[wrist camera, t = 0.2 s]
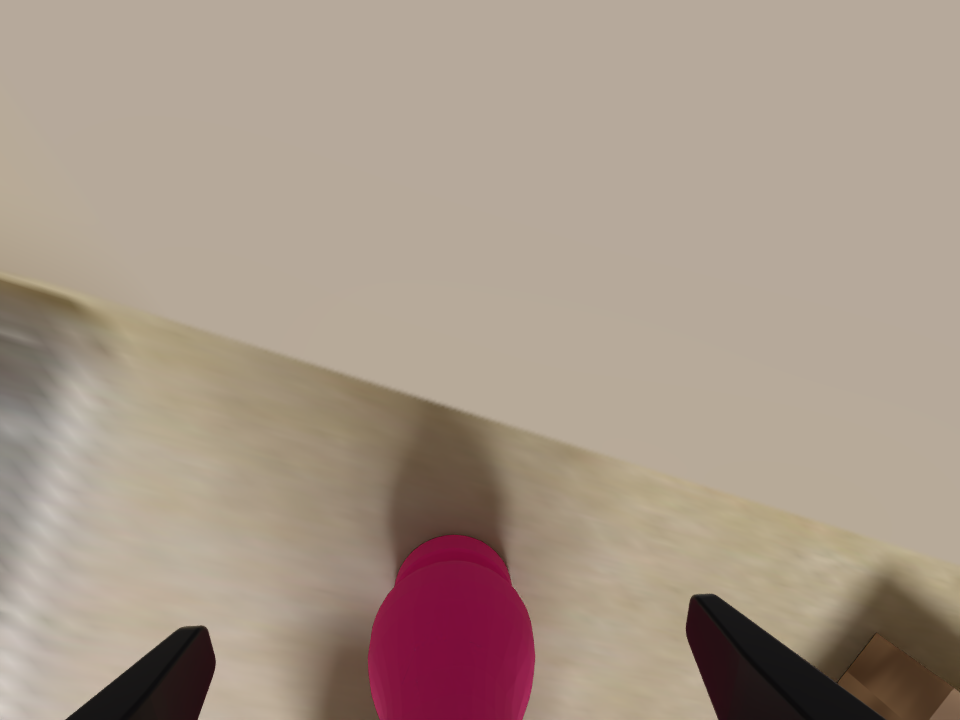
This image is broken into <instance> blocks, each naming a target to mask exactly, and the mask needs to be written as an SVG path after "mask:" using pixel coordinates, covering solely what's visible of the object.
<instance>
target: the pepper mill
mask: <svg viewBox="0 0 960 720" xmlns="http://www.w3.org/2000/svg"><path fill="white" fill-rule="evenodd" d="M534 665H535V650H534V640H533V632H532V626H531V621H530V618H529V615H528V612H527V609H526V607H525V605H524V603H523V602H522V600H521V598H520V597H519V595H518V593H517V592H516V590H515V589H514V588H513V587H512V584H511V580H510V575H509V573H508V570H507V567H506V566H505V564H504V562H503V560H502V559H501V558H500V557H499V555H498V554H497V553H496V552H495V551H494V550H493V549H492V548H491V547H489V546H488V545H487V544H485V543H483V542H482V541H479V540H477V539H475V538H471V537H468V536H462V535H446V536H441V537H437V538H434V539H432V540H429V541H427V542H425V543H423V544H422V545H420V546H419V547H417V548H416V549H415V550H414V551H413V552H412V553H411V554H410V555H409V556H408V557H407V558H406V560H405V561H404V563H403V564H402V566H401V568H400V570H399V572H398V575H397V578H396V582H395V586H394V588H393V589H392V590H391V591H390V593H389V594H388V595H387V597H386V598H385V600H384V602H383V603H382V605H381V607H380V608H379V611H378V613H377V615H376V618H375V621H374V624H373V627H372V633H371V640H370V646H369V653H368V673H369V680H370V687H371V694H372V698H373V701H374V704H375V708H376V711H377V714H378V716H379V719H380V720H522V719H523V716H524V713H525V710H526V707H527V704H528V701H529V698H530V693H531V689H532V683H533V675H534Z"/></svg>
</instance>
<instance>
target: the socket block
mask: <svg viewBox="0 0 960 720" xmlns="http://www.w3.org/2000/svg"><path fill="white" fill-rule="evenodd" d="M837 684H839V685H840V686H841V687H843V688H844V689H845V690H847V691H848V692H850V693H851V694H852V695H854V696H855V697H856V698H858V699H859V700H860V701H862V702H863V703H865V704H866V705H867V706H869V707H870V708H871V709H873V710H874V711H875V712H877V713H878V714H880V715H881V716H882V717H884V718H885V719H886V720H960V692H959V691H957V690H956V689H955V688H953V687H952V686H951V685H949V684H948V683H946V682H945V681H944V680H942V679H941V678H939V677H938V676H936V675H935V674H934V673H932V672H931V671H929V670H928V669H927V668H925V667H924V666H922V665H921V664H920V663H918V662H917V661H915V660H914V659H913V658H911V657H910V656H908V655H907V654H906V653H904V652H903V651H901V650H900V649H898V648H897V647H896V646H894V645H893V644H891V643H890V642H889V641H887V640H886V639H884V638H883V637H882V636H880V635H879V634H877V633H876V634H875V636H874V637H873V638H872V639H871V641H870V642H869V643H868V644H867V646H866V647H865V648H864V650H863V651H862V652H861V653H860V655H859V656H858V657H857V659H856V660H855V661H854V662H853V664H852V665H851V666H850V667H849V669H848V670H847V671H846V673H845V674H844V675H843V676H842V678H841V679H840V680H839V681H838V683H837Z"/></svg>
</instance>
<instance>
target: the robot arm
mask: <svg viewBox="0 0 960 720" xmlns="http://www.w3.org/2000/svg"><path fill="white" fill-rule="evenodd" d="M686 635H687V639H688V642H689V645H690V648H691V650H692V653H693V655H694V658H695V661H696V663H697V666H698V668H699V671H700V674H701V676H702V679H703V681H704V684H705V687H706V689H707V692H708V694H709V697H710V700H711V702H712V705H713V707H714V710H715V713H716V715H717V718H718V720H886V719H885V718H884V717H882V716H881V715H880V714H878V713H877V712H875V711H874V710H873V709H871V708H870V707H869V706H867V705H866V704H865V703H863V702H862V701H860V700H859V699H858V698H856V697H855V696H854V695H852V694H851V693H850V692H848V691H847V690H845V689H844V688H843V687H841V686H840V685H839V684H837V683H836V682H834V681H833V680H832V679H830V678H829V677H828V676H826V675H825V674H824V673H822V672H821V671H819V670H818V669H817V668H815V667H814V666H813V665H811V664H810V663H808V662H807V661H806V660H804V659H803V658H802V657H800V656H799V655H798V654H796V653H795V652H793V651H792V650H791V649H789V648H788V647H787V646H785V645H784V644H782V643H781V642H780V641H778V640H777V639H776V638H774V637H773V636H772V635H770V634H769V633H767V632H766V631H765V630H763V629H762V628H761V627H759V626H758V625H756V624H755V623H754V622H752V621H751V620H750V619H748V618H747V617H746V616H744V615H743V614H741V613H740V612H739V611H737V610H736V609H735V608H733V607H732V606H730V605H729V604H728V603H726V602H725V601H724V600H722V599H721V598H720V597H718V596H716V595H714V594H696V595H693V596H692V597H691V599H690V603H689V609H688V616H687V622H686ZM215 664H216V660H215V654H214V651H213V647H212V643H211V639H210V636H209V632H208V629H207V628H206V627H205V626H202V625H201V626H186V627H181V628H179V629H178V630H176V631H175V632H174V633H172V634H171V635H170V636H169V637H167V638H166V639H165V640H164V641H162V642H161V643H160V644H159V645H157V646H156V647H155V648H154V649H152V650H151V651H150V652H149V653H147V654H146V655H145V656H144V657H142V658H141V659H140V660H139V661H138V662H136V663H135V664H134V665H133V666H131V667H130V668H129V669H128V670H126V671H125V672H124V673H123V674H121V675H120V676H119V677H118V678H116V679H115V680H114V681H113V682H111V683H110V684H109V685H108V686H106V687H105V688H104V689H103V690H102V691H100V692H99V693H98V694H97V695H95V696H94V697H93V698H92V699H90V700H89V701H88V702H87V703H85V704H84V705H83V706H82V707H80V708H79V709H78V710H77V711H75V712H74V713H73V714H72V715H70V716H69V717H68V718H67V719H66V720H198V717H199V714H200V711H201V709H202V706H203V703H204V700H205V697H206V694H207V692H208V689H209V686H210V683H211V680H212V677H213V674H214V671H215Z"/></svg>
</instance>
